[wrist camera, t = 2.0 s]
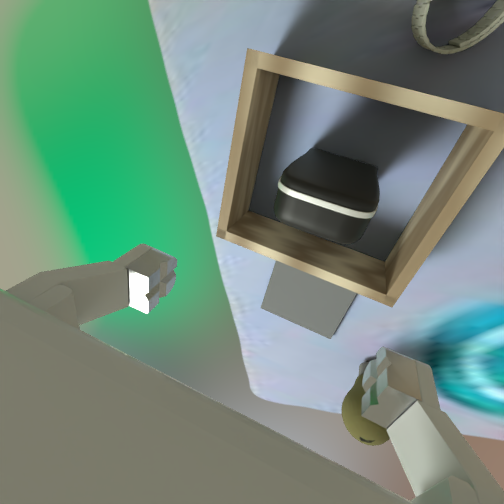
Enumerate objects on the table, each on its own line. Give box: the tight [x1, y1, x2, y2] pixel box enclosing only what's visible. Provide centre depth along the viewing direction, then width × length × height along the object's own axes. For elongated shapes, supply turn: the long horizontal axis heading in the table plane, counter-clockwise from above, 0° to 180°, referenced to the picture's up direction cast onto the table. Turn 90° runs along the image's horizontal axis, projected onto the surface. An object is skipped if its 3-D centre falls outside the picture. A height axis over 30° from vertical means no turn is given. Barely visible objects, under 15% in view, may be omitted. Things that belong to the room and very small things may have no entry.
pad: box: [261, 260, 357, 339], centre depth 35 cm, size 10×10×1 cm
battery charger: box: [274, 148, 380, 244], centre depth 23 cm, size 7×4×11 cm, turn 79°
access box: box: [216, 48, 504, 307], centre depth 25 cm, size 18×16×6 cm
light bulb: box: [342, 362, 390, 446], centre depth 33 cm, size 6×6×10 cm
